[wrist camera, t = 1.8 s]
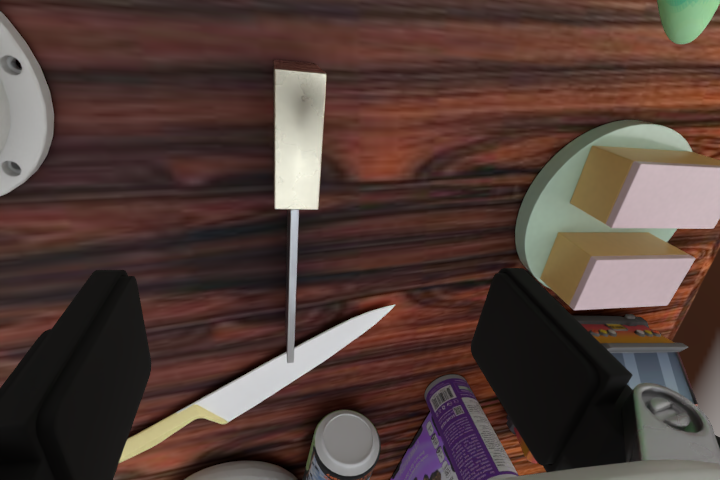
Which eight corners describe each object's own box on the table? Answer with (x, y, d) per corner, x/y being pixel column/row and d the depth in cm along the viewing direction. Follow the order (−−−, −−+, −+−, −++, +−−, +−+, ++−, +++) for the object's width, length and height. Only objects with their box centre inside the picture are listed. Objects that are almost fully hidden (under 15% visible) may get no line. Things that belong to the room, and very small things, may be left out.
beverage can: (395, 449, 32) (378, 525, 38) (355, 385, 38) (345, 459, 44) (327, 482, 30) (319, 558, 35) (294, 407, 35) (292, 483, 41)
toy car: (490, 419, 44) (543, 514, 36) (549, 300, 37) (635, 384, 28) (572, 414, 47) (639, 500, 39) (642, 303, 40) (745, 380, 31)
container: (424, 409, 41) (494, 586, 28) (424, 379, 38) (501, 557, 26) (465, 399, 41) (553, 568, 29) (468, 369, 39) (565, 538, 26)
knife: (410, 328, 34) (391, 299, 31) (105, 495, 36) (60, 483, 33) (405, 317, 35) (385, 288, 32) (109, 480, 37) (65, 467, 34)
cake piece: (539, 278, 33) (573, 310, 29) (557, 231, 31) (597, 260, 27) (625, 276, 35) (667, 305, 31) (648, 232, 33) (696, 258, 29)
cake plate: (483, 208, 30) (493, 217, 29) (655, 75, 28) (674, 77, 26) (554, 310, 37) (564, 320, 36) (695, 212, 35) (711, 219, 34)
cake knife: (273, 59, 22) (274, 68, 17) (315, 63, 23) (327, 73, 18) (273, 327, 32) (273, 380, 27) (302, 325, 32) (308, 377, 27)
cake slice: (569, 203, 30) (611, 228, 26) (591, 145, 28) (641, 163, 24) (662, 205, 32) (713, 228, 28) (689, 151, 30) (749, 169, 26)
